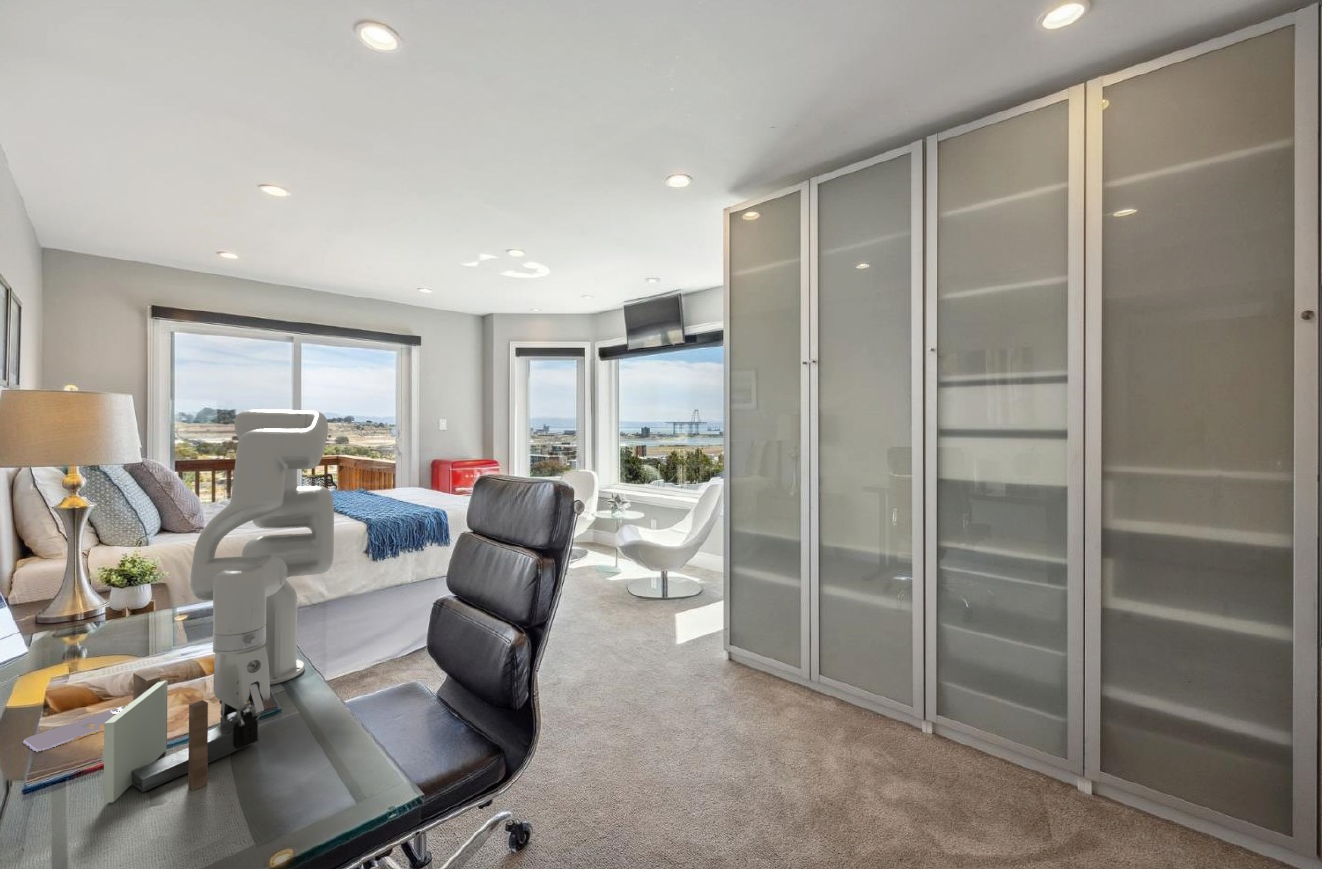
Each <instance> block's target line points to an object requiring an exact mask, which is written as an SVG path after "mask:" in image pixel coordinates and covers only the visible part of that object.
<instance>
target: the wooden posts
mask: <svg viewBox="0 0 1322 869" xmlns="http://www.w3.org/2000/svg"><path fill="white" fill-rule="evenodd" d="M132 675H133V681H132V682H133V683H132V684H133V687H132V691H133V694H132V700H133V701H134V700H135V699H137V698H138V697H139V696H141V695H142V694H143V693H144V692H146V691H147V690H148V689H150V688H151V687H152V686H154V685H155V684H156V683H158V682H161V676H160V675H158V674H156V673H154V672H152V671H151V670H149V669H147V668H146V669H143V670H139V671H135V672H133V674H132ZM133 701H132V702H133ZM208 724H209V703H208V702H207V701H206V700H203V699H201V700H199V701H195V702H193V703H190V704H188V747H189V764H188V772H187V774H188V784H187V785H188V786H187V787H188V788H190V789H191V790H192V791H195V790H197V789H200V788H203V787H205V786H206V785H208V763H207V758H208V731H209V725H208Z"/></svg>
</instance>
